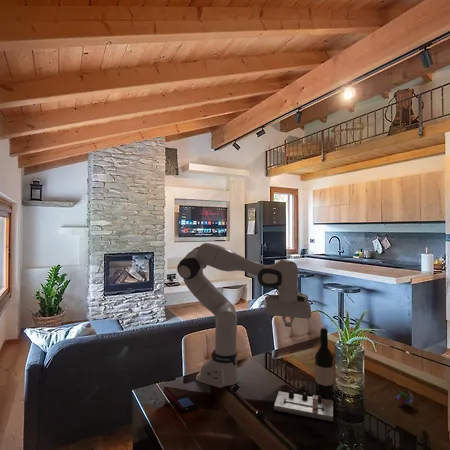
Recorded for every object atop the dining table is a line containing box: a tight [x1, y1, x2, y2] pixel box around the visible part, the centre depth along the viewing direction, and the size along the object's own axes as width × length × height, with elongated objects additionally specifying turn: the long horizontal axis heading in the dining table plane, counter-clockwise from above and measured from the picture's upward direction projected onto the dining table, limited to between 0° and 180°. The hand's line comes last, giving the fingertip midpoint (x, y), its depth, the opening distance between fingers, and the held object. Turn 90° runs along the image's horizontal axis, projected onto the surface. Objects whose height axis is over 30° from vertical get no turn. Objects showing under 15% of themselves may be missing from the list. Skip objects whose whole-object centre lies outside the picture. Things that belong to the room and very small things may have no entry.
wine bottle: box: [314, 327, 334, 395], centre depth 150 cm, size 8×8×30 cm
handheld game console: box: [165, 386, 199, 415], centre depth 135 cm, size 12×11×7 cm
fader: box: [312, 394, 318, 409], centre depth 131 cm, size 2×3×4 cm, turn 160°
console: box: [273, 389, 334, 422], centre depth 134 cm, size 24×13×4 cm, turn 71°
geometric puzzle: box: [394, 389, 416, 408], centre depth 137 cm, size 7×7×8 cm
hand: (288, 326), depth 139 cm, fingers closed
